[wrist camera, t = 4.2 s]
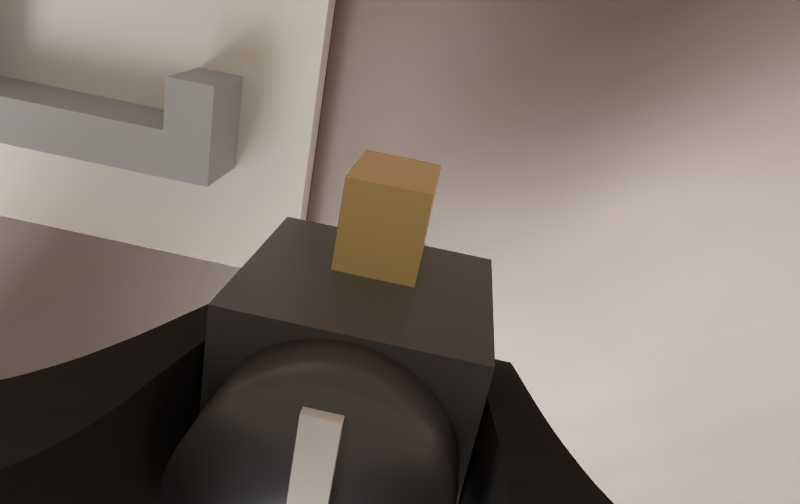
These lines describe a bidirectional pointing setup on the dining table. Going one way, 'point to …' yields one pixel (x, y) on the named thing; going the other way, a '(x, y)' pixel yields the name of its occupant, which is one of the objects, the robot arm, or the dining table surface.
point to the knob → (344, 359)
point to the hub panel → (162, 118)
